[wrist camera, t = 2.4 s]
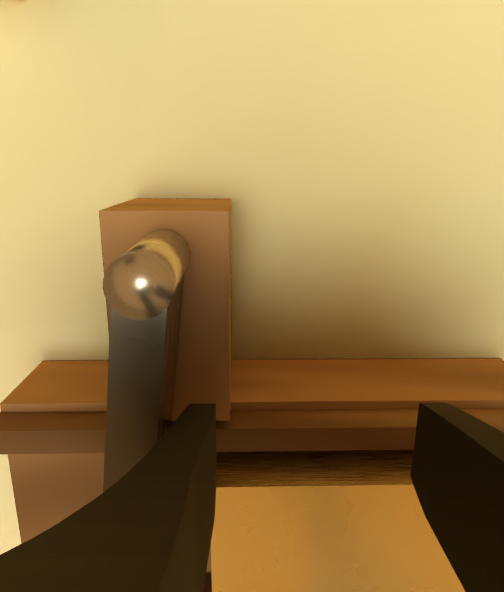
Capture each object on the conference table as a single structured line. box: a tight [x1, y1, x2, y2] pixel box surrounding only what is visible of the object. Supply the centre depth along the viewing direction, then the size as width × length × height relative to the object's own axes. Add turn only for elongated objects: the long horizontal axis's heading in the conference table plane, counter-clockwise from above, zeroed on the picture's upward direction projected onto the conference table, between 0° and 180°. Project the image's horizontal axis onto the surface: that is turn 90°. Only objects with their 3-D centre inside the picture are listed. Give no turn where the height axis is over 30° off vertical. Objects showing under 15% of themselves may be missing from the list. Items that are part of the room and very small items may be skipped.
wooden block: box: [211, 450, 465, 592], centre depth 13 cm, size 4×8×2 cm, turn 89°
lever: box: [103, 229, 190, 492], centre depth 11 cm, size 11×1×3 cm, turn 173°
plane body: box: [0, 199, 504, 592], centre depth 15 cm, size 12×16×4 cm
